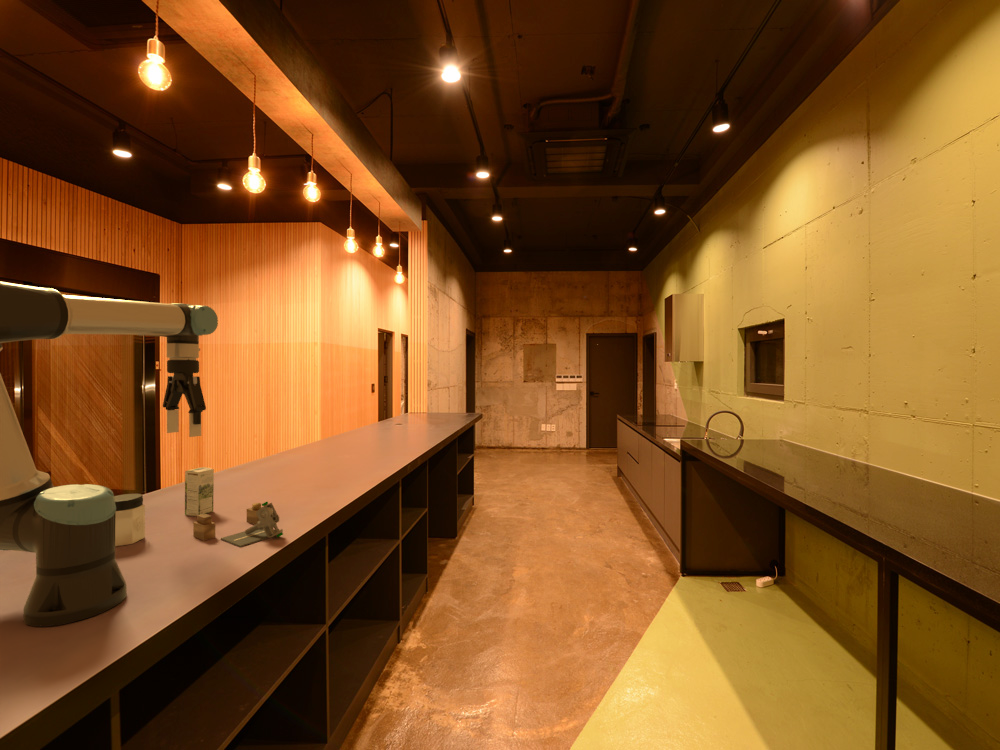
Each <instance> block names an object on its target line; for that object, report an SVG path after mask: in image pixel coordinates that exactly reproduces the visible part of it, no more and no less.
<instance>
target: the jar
mask: <svg viewBox="0 0 1000 750" xmlns="http://www.w3.org/2000/svg"><path fill="white" fill-rule="evenodd" d="M143 497H144V496H143V494H141V493H126V494H119V495H114V499H115V505H116V518H115V547H121V546H127V545H133V544H135V543H137V542H139V541H140V540H143V539H145V538H146V526H145V525H146V522H145V520H146V517H145V516H146V513H145V512H146V511H145V509H146V508H145V507H146V505H145V504H144V498H143Z"/></svg>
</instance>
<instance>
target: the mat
mask: <svg viewBox="0 0 1000 750" xmlns="http://www.w3.org/2000/svg"><path fill="white" fill-rule="evenodd" d="M281 533H283V532H281ZM283 534H284V533H283ZM277 535H278V534H277ZM277 535H275V536H273V537H272V538H274V537H277ZM268 539H270V538H269V537H267V535H266V533H265V531H264V529H263V530H259V529H258V530H256V531H254V532H252V533H250V534H246V533H245V530H244V531H241V532H237V533H234V534H230V535H227V536H224V537H221V538H220V540H221V541H223V542H227V543H229V544H231V545H233V546H236V547H238V548H242V546H243V547H245V545H246V546H249V545H252V544H255V543H258V542H261V541H263V540H264V541H265V540H268ZM248 544H249V545H248Z"/></svg>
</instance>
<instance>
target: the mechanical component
mask: <svg viewBox="0 0 1000 750" xmlns="http://www.w3.org/2000/svg"><path fill="white" fill-rule="evenodd" d="M256 514H257V517H258V519H259V521H258V522H257V524H256V525H255V524H253V526H250V527H248V528H247V529H245V530H244V531H245V533H246V534H250V533H252V532H254V531H256V530H258V529H259V530H263V529H264V531H265V533H266V535H267V537H269V538H268V539H270V538H274V537H277V538H279V537H281V536H284V533H281V532H283V531H284V530H283V528H281V529H279V527H278V526H277V523H279V522H280V515H279V514H278V512H277V511H276V509H275V507H274V505H273V502H270V503H269V501H265V502H263V503H261V509H259V510H257V512H256ZM277 534H278V535H277ZM275 535H277V536H275ZM273 536H274V537H273Z"/></svg>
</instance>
